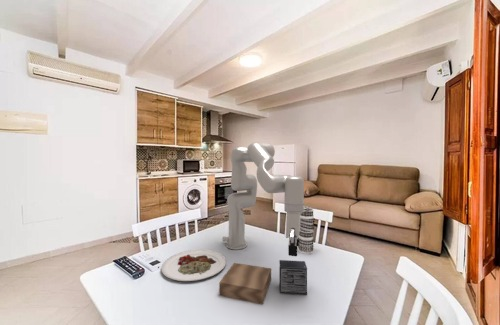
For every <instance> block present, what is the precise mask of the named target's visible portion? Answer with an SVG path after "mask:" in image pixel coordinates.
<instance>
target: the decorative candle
mask: <svg viewBox="0 0 500 325" xmlns="http://www.w3.org/2000/svg"><path fill="white" fill-rule="evenodd" d="M314 211H315V210H314V209H313V208H312V207H311V206H308V205H304V212H303V213H301V221H300V233H299V246H297V252H299V253H301V254H305V255H311V254H313V253H314V231H315V230H314V229H315V227H314V226H315V224H314V223H315V220H316V219H315V218H314Z"/></svg>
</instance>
